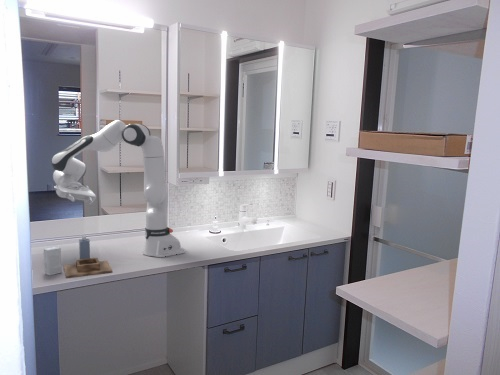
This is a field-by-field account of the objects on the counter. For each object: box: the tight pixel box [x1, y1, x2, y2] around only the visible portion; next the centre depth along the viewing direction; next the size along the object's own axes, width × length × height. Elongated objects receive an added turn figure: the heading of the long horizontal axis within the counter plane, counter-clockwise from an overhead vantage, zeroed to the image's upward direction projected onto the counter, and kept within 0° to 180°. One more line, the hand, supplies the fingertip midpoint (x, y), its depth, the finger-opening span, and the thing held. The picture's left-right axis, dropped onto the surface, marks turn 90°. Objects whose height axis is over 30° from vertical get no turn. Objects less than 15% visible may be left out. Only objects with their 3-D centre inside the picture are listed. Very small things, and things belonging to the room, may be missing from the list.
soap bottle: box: [78, 235, 91, 259], centre depth 208 cm, size 4×4×13 cm
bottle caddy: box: [63, 257, 113, 279], centre depth 197 cm, size 20×16×4 cm
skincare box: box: [43, 245, 62, 277], centre depth 190 cm, size 6×4×12 cm
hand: (82, 201), depth 211 cm, fingers open, 8 cm apart
